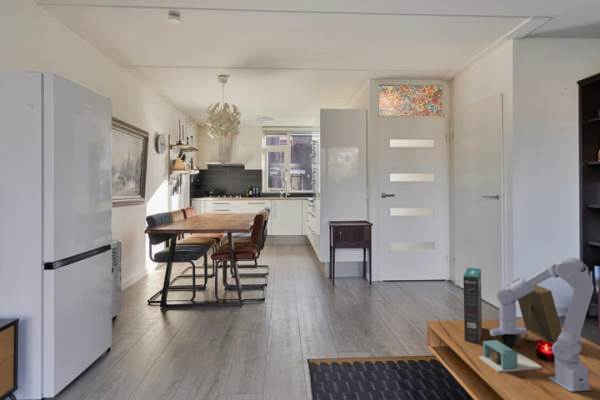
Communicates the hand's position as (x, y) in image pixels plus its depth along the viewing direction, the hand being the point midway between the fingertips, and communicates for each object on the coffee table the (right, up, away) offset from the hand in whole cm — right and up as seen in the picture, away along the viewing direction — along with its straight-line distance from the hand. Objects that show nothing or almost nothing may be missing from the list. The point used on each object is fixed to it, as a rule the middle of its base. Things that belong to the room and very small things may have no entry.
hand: (508, 352), depth 143 cm
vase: (+12, -4, +17) cm, 22 cm away
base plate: (0, -4, 0) cm, 4 cm away
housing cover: (-4, -5, 0) cm, 6 cm away
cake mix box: (+1, -5, +31) cm, 32 cm away
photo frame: (+26, -4, +25) cm, 36 cm away
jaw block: (-4, -4, 0) cm, 6 cm away
